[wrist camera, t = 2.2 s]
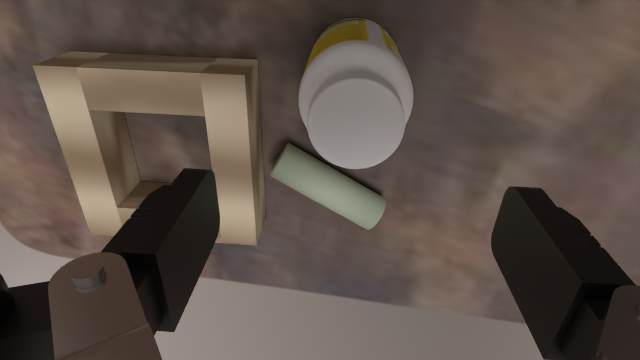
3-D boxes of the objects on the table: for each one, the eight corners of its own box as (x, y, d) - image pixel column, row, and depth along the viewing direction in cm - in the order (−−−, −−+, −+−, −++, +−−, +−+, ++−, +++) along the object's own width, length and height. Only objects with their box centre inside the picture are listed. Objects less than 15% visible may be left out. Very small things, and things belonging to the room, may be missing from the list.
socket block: (71, 51, 25) (32, 65, 22) (257, 59, 24) (244, 75, 21) (116, 206, 31) (91, 234, 28) (266, 216, 30) (256, 245, 27)
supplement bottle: (297, 85, 25) (270, 154, 17) (331, 0, 22) (320, 31, 14) (373, 118, 26) (384, 200, 17) (415, 40, 23) (451, 92, 15)
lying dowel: (277, 156, 28) (265, 182, 27) (292, 135, 27) (280, 162, 25) (367, 207, 30) (362, 235, 28) (388, 191, 28) (383, 220, 27)
